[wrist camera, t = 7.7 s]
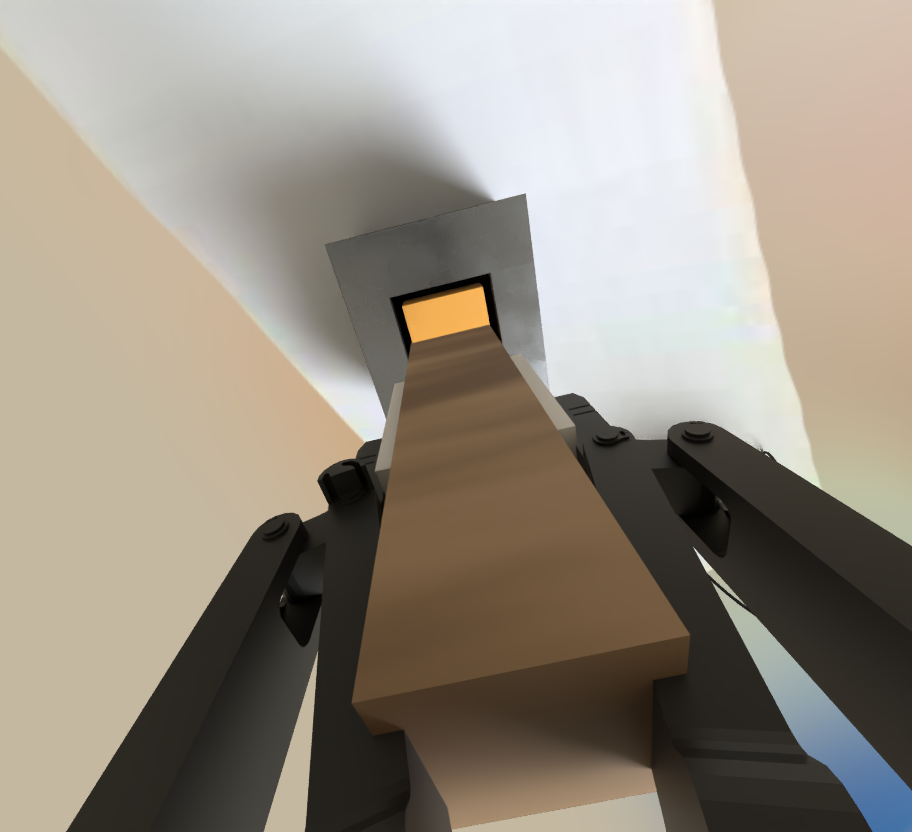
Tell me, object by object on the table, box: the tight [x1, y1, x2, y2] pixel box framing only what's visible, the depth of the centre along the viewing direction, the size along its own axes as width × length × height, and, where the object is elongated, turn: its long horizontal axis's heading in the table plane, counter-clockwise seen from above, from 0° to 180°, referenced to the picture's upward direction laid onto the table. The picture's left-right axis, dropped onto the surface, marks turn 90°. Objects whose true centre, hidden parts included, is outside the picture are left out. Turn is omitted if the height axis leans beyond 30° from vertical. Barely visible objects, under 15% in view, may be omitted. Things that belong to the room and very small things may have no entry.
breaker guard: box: [325, 193, 549, 419], centre depth 29 cm, size 14×12×10 cm
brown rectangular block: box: [352, 325, 690, 829], centre depth 12 cm, size 4×4×16 cm
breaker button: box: [402, 283, 490, 343], centre depth 28 cm, size 5×5×6 cm
